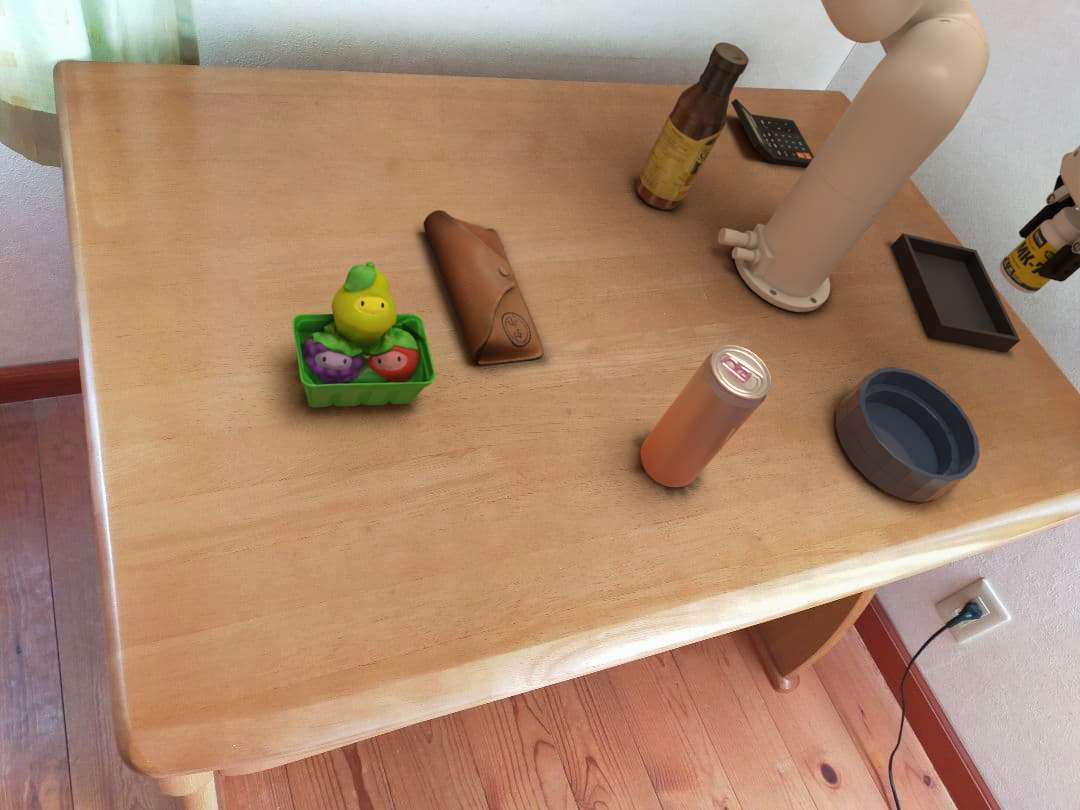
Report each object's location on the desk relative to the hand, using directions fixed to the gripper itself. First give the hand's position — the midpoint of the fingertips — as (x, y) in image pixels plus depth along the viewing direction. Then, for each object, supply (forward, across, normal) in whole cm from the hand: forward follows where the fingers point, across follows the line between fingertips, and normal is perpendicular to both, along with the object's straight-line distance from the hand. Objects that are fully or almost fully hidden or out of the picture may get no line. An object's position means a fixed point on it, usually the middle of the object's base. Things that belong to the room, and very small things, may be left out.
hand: (1041, 256), depth 91 cm
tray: (+20, -14, +9) cm, 26 cm away
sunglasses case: (+20, +2, -54) cm, 58 cm away
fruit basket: (+20, +16, -66) cm, 70 cm away
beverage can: (+20, +20, -35) cm, 45 cm away
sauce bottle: (+20, -20, -32) cm, 43 cm away
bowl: (+20, +12, -8) cm, 25 cm away
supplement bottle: (+3, 0, 0) cm, 3 cm away
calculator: (+20, -38, -13) cm, 45 cm away
